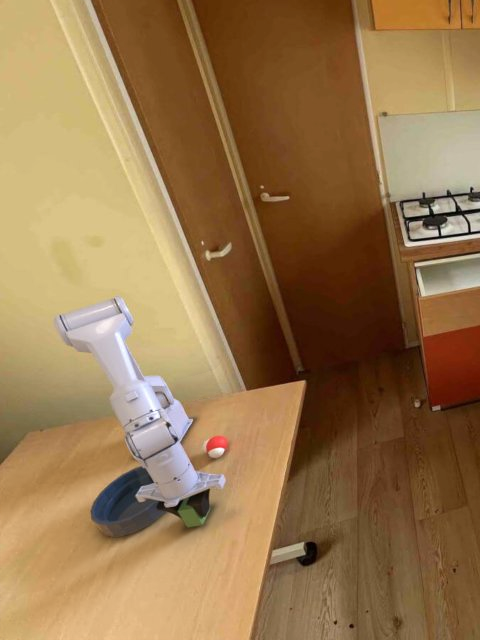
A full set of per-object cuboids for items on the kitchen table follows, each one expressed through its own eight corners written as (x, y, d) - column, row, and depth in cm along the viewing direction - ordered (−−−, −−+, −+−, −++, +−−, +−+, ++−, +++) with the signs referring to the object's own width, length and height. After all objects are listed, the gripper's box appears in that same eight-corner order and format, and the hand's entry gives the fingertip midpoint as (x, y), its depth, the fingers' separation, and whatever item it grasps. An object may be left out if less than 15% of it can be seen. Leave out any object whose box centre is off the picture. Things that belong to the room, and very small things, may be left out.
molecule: (233, 443, 102) (228, 431, 100) (222, 461, 97) (216, 448, 95) (212, 444, 101) (206, 432, 99) (200, 462, 97) (193, 449, 95)
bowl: (126, 481, 93) (117, 468, 91) (192, 471, 95) (185, 458, 93) (84, 544, 81) (72, 530, 79) (160, 531, 83) (151, 517, 81)
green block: (196, 510, 87) (186, 493, 85) (210, 507, 88) (201, 491, 85) (187, 527, 84) (177, 511, 82) (202, 525, 85) (193, 508, 82)
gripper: (114, 496, 74) (145, 540, 81) (204, 483, 77) (227, 527, 83) (138, 461, 80) (165, 505, 87) (220, 450, 83) (241, 493, 89)
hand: (196, 513), depth 85 cm, fingers closed on green block, 3 cm apart
